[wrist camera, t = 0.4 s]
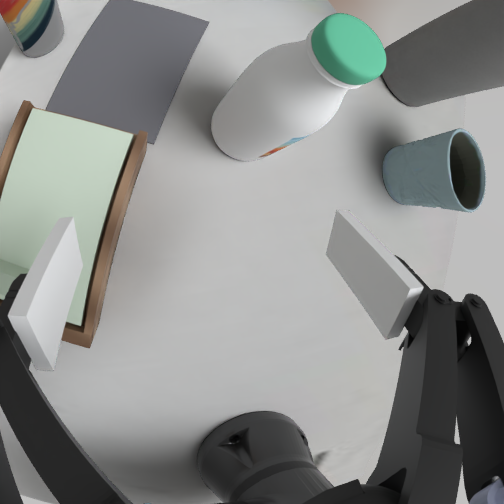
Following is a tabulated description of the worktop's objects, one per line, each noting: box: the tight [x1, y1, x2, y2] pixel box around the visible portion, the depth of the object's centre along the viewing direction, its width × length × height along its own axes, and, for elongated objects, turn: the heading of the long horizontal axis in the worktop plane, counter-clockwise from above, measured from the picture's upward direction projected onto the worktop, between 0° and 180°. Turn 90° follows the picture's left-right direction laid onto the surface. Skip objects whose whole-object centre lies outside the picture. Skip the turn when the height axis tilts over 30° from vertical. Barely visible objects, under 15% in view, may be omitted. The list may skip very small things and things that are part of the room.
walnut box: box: [0, 100, 148, 348], centre depth 24 cm, size 18×12×7 cm, turn 163°
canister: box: [382, 0, 504, 107], centre depth 24 cm, size 13×13×35 cm
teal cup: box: [382, 129, 486, 212], centre depth 35 cm, size 10×10×12 cm
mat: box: [46, 0, 209, 144], centre depth 27 cm, size 17×13×1 cm
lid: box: [0, 108, 134, 326], centre depth 20 cm, size 16×10×5 cm, turn 163°
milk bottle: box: [211, 13, 386, 161], centre depth 23 cm, size 8×8×20 cm
